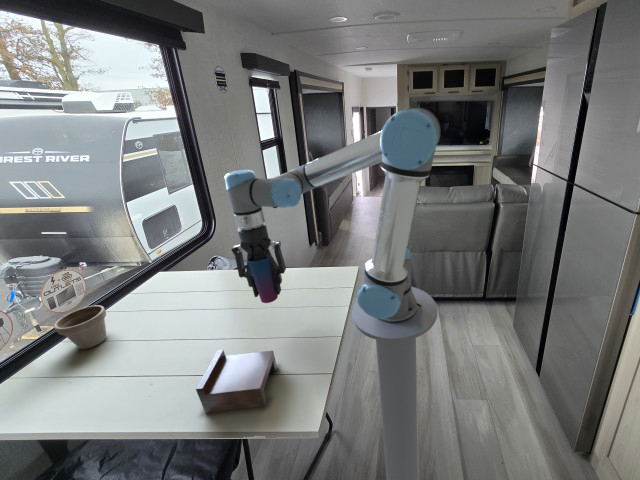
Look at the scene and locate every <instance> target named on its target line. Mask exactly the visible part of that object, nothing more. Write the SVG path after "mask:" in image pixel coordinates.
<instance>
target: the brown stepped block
mask: <svg viewBox="0 0 640 480" xmlns="http://www.w3.org/2000/svg"><path fill="white" fill-rule="evenodd" d="M277 369H278V365H277V361H276V357H275V353H274V350H265V351H257V352H246V353H238V354H227V355H226V354H225V350H224V349H218V350H216V352H215V354H214V356H213V358H212V360H211V361H210V363H209V365H208V366H207V368H206V370H205V371H204V374H203V376H202V377H201V379H200V381H199V382H198V385H197V387H196V388H195V391H196V393H197V396H198V399H199V401H200V403H201V406H202V409H203V411H204V413H205V414H212V413H219V412H226V411H235V410H243V409H253V408H261V407H266V405H267V403H268V399H267V396H266V392H265V388H266V387H265V386H266V383H267V380H268V378H269V374H270V373H275V372H277Z"/></svg>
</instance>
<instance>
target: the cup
mask: <svg viewBox="0 0 640 480" xmlns="http://www.w3.org/2000/svg"><path fill="white" fill-rule="evenodd" d="M271 255H272V253H271V254H270V256H269V257H268V258H266V259H264V258H263V257H262V255H261V256H260V255H256V256H254V262H252V261H249V260H248V259H247V258H246V262H247V261H248V264H249V267H250V270H251V273H252V276H253V279H254V282H255V285H256V287H257V290H258V293H259V295H258V296H259V299H260V302H261V303H263V304H270V303H273V302H275V301H276V300H277V299H278V297H279V295H277V293H276V289H275V285H274V281H273V275H274V273H273V271H272V270H271V267H270V261H269V259H271V257H273V255H272V256H271Z"/></svg>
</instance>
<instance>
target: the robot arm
mask: <svg viewBox="0 0 640 480" xmlns="http://www.w3.org/2000/svg"><path fill="white" fill-rule="evenodd" d="M441 131H442V130H441V124H440V122H439V120H438V118H437V116H435V114H434V113H433V112H432V111H430V110H428V109H426V108H424V107H412V108H404V109H402V110H399V111H397V112H395V113H394V114H392V115H391V116H390V117H389V118H388V119H387V120H386V122H385V124H383V127H382V129H381V131H378V132H376V133H374V134H371V135H368V136H367V137H365V138H364V137H363V138H362V139H360V140H358V141H355V142H353V143H351V144H348V145H346V146H343V147H341V148H339V149H337V150H334V151H333V152H330V153H328V154H325V155H323V156H321V157H318V158H316V159H314V160H312V161H309V162H307V163H305V164H302V165H301V166H297V167H295V168H293V169H291V170H289V171H287V172H284V173H282V174H280V175H277V176H274V177H270V178H257V177H256V175H255V172H254V170H251V169H239V170H238V169H237V170H233V171H230V172H227V173H226V174H225V175H224V183H225V189H226V192H227V196H228V199H229V202H230V205H231V210H232V214H233V217H234V221H235V225H236V228H237V233H238V237H239V240H240V244H235V245H234V246H233V247H232V248H231V252H232V254H233V255H234V259H235V264H236V267H237V272H238V277H239V278H241V279H242V278H245V279H246V281H247V285H248V287H249V288H252V292H253V295H254V298H258V296H259V293H258V290H257V287H256V285H255V282H254V279H253V276H252V273H251V270H250V267H249V264H248V261H247V259H248V260H249V261H252V262H254V256H256V255H260V256H261V255H262V257H263V258H264V259H266V258H268V257H269V256H270V254H271V256H272V257H271V259H269V261H270V267H271V270H272V271H273V273H274V275H273V281H274V285H275V289H276V293H277V295H278V296H279V295H280V294H281V291H282V286H281V284H282V282H283V277H282V274H285V272H286V270H287V266H286V264H285V263H286V262H285V260H284V259H285V258H284V256H283V253H282V249H281V246H282V242H281V241H280V240H277V241H273V240H271V239H270V237H269V232H268V228H267V224H266V223H265V222H266V220H265V215H264V211H263V207H267V208H282V209H283V208H292V207H296V206H297V205H299V203H300V201H301V199H302V195H303V194H305V193H307V192H309V191H312V190H314V189H317V188H318V187H319V188H320V187H322V186H324V185H327V184H330V183H332V182H334V181H336V180H339V179H341V178H344V177H347V176H349V175H352V174H354V173H357V172H360V171H362V170H364V169H367V168H369V167H373V166H374V165H377V164H380V169H381V170H382V171H383V173H384V175H385V176H384V177H385V178H384V184H383V191H382V196H381V202H380V208H379V213H378V214H379V215H378V221H377V227H376V234H375V240H374V246H373V252H372V257H371V258H370V259H369V260H368V261H366V262H365V266H364V273H363V280H362V283H361V287H359V289H358V291H357V295H356V301H357V302H358V304H359V306H360V308H361V309H363V310H364V312H365V313H366V314H368V315H370V316H372V317H375V318H378V319H379V320H381V321H384V322H388V323H400V322H404V321H407V320H409V319H410V318H412V317H413V316H414V315H415V313H416V311H417V306H419V307H422V306H421V305H420V304H418V303H417V302H416V299H415V297H414V294H413V292H412V289H411V287H412V256H411V250H410V249H409V248H408V247H409V242H410V237H411V232H412V227H413V224H414V218H415V214H416V210H417V205H418V200H419V195H420V191H421V186H422V182H423V181H424V180H426V179H428V178H430V175H431V171H432V166H433V162H434V157H435V153H436V149H437V145H438V144H439V142H440V139H441ZM270 246H271V248H272V250H273V251H274V252H273V253H274V256H275V258H274V257H273V255H272V253H271V251H270V249H269V248H270ZM243 251H244V252H245V253H247V255H246V264H245V261H244V254H243ZM275 259H276V260H275ZM245 265H246V266H245Z"/></svg>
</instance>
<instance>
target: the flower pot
mask: <svg viewBox="0 0 640 480" xmlns="http://www.w3.org/2000/svg"><path fill="white" fill-rule="evenodd" d="M106 316H107V311H106V310H105V307H104V306H103V305H99V304H98V305H96V304H95V305H90V306H84V307H82V308H78V309H77V310H74V311H71V312H69V313H67V314H65V315H63V316H61V317H60V318H59V319H58V320H57V321H56V322H55V323H54V325H53V328H54V330H55V331H56V333H57V334H58V335H61V336H65V337H66V338H67V339H68V340H69V341H71V342H72V343H73V344H74V345H75V346H76V347H78V348H79V349H81V350H86V349H90V348H94V347H95V346H96V347H97V345H100V344H101V343H103V342H104V341H105V340H106V338H107V327H106V322H105V321H106V320H105V318H106Z"/></svg>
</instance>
